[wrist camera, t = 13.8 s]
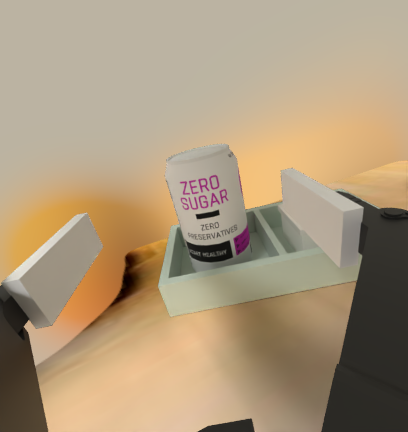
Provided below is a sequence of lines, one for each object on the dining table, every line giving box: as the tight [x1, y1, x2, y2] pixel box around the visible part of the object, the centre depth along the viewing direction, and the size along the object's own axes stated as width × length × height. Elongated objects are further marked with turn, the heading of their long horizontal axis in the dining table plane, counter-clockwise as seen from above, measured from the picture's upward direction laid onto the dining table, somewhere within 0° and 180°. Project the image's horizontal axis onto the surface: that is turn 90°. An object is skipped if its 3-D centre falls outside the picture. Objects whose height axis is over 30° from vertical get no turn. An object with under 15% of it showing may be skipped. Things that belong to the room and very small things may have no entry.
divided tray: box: [158, 189, 380, 317], centre depth 30 cm, size 27×14×4 cm, turn 92°
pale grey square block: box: [277, 204, 319, 252], centre depth 29 cm, size 8×8×5 cm
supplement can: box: [165, 144, 252, 272], centre depth 28 cm, size 8×8×15 cm
